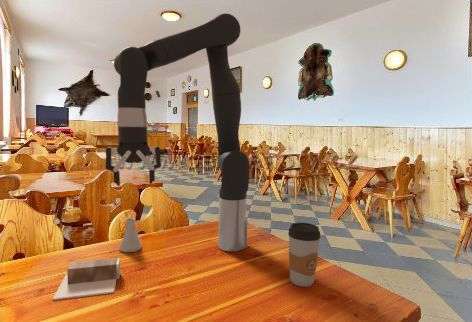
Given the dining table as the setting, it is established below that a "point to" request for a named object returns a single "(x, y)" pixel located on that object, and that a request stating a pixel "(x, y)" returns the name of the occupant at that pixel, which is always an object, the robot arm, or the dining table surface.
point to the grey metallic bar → (93, 270)
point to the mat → (84, 289)
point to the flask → (130, 237)
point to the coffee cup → (303, 253)
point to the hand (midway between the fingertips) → (134, 184)
